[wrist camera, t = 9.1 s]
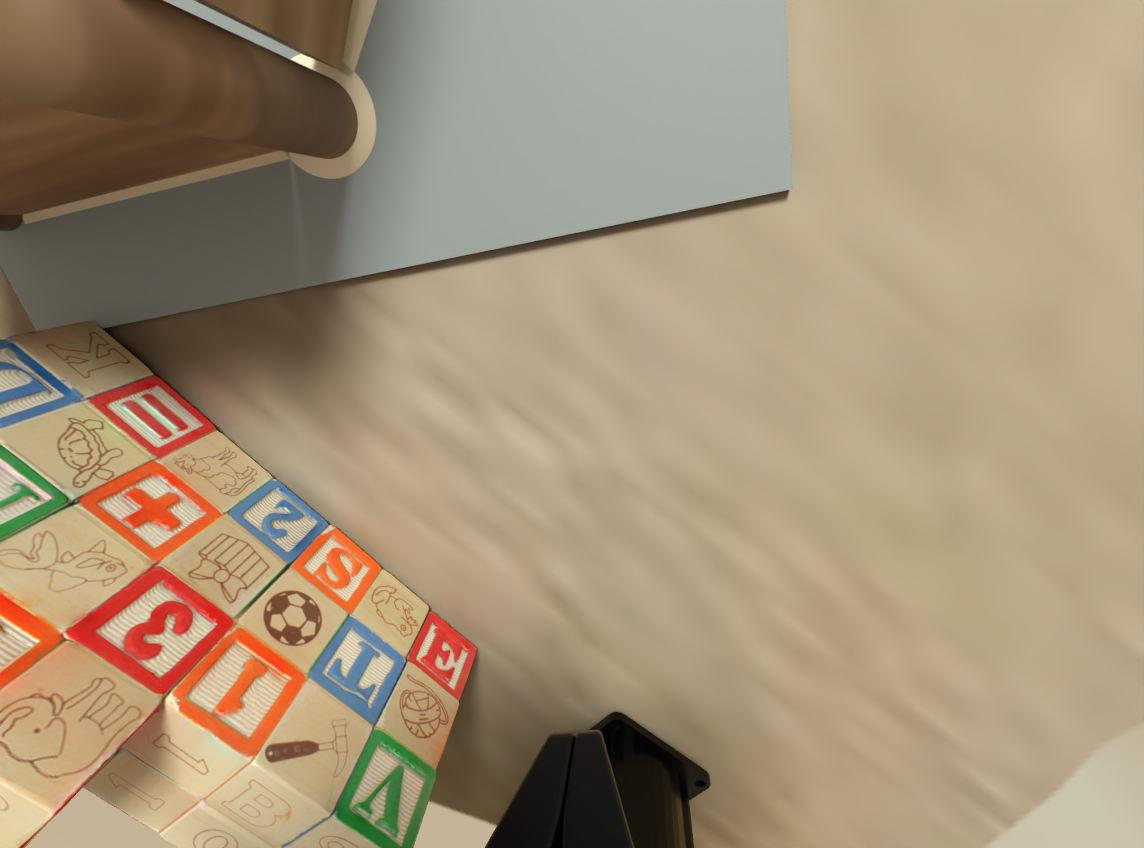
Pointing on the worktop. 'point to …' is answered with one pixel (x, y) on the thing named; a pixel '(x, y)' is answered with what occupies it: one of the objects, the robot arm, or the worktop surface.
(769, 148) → the card
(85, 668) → the stack of blocks
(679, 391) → the worktop surface
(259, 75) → the fence post and fixed panel
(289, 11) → the wooden board
